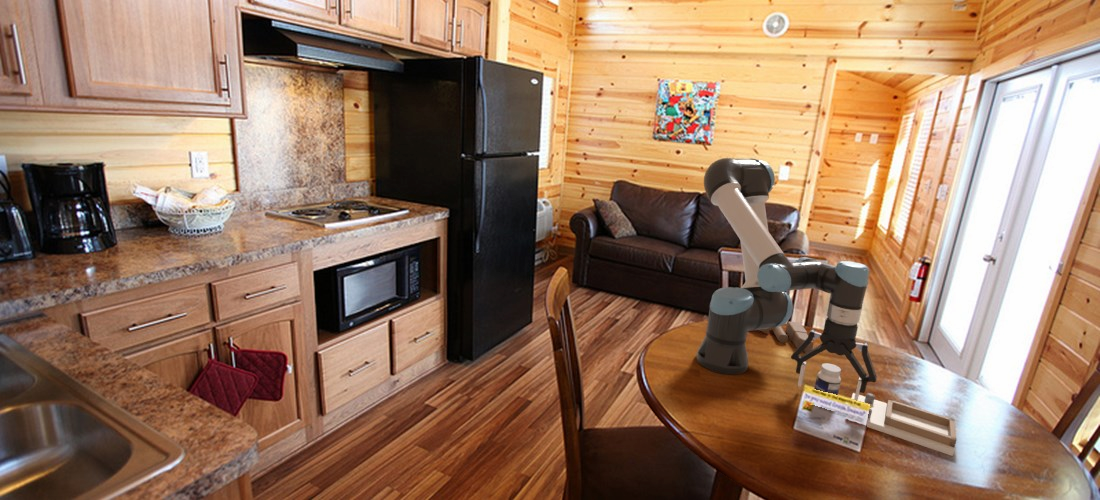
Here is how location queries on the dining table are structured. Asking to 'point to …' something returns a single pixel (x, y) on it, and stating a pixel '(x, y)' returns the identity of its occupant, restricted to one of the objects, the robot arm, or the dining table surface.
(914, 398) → the dining table surface
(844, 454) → the dining table surface
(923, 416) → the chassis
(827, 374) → the pill bottle
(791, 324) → the wooden block set
